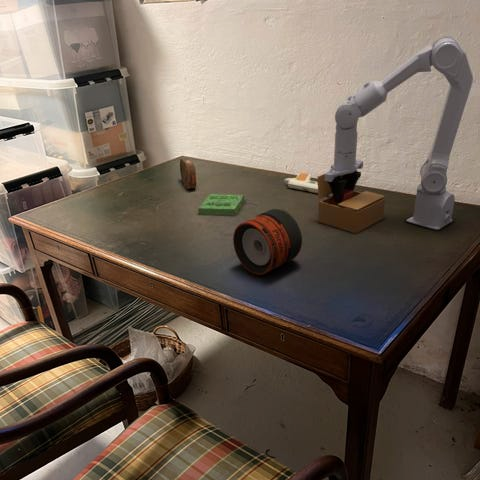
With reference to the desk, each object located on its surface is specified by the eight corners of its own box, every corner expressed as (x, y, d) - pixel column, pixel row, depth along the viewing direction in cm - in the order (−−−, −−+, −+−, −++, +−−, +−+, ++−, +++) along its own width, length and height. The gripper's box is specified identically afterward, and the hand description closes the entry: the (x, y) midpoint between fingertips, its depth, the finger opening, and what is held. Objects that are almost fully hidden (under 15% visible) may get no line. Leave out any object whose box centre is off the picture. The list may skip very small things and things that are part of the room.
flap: (319, 199, 140) (318, 199, 140) (347, 186, 147) (346, 186, 147) (318, 176, 137) (317, 176, 137) (347, 164, 144) (346, 164, 144)
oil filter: (234, 266, 124) (230, 215, 117) (268, 248, 131) (266, 200, 124) (273, 282, 116) (272, 229, 109) (307, 263, 123) (308, 212, 116)
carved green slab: (199, 214, 154) (198, 206, 153) (210, 200, 164) (209, 192, 162) (235, 215, 151) (234, 207, 150) (244, 200, 161) (243, 193, 160)
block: (352, 204, 143) (353, 190, 141) (343, 208, 141) (344, 194, 138) (341, 201, 145) (341, 187, 143) (332, 205, 143) (332, 191, 141)
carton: (318, 221, 144) (318, 199, 140) (345, 208, 151) (347, 186, 147) (355, 233, 136) (357, 209, 132) (383, 218, 143) (385, 195, 139)
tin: (180, 179, 183) (177, 155, 178) (189, 178, 183) (186, 154, 179) (189, 192, 171) (186, 167, 166) (198, 191, 171) (196, 166, 167)
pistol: (350, 187, 166) (332, 198, 158) (298, 177, 176) (279, 187, 169) (350, 180, 164) (332, 190, 157) (298, 170, 175) (279, 180, 168)
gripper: (349, 142, 141) (346, 189, 149) (316, 154, 133) (314, 204, 141) (371, 146, 137) (367, 195, 144) (337, 159, 129) (335, 210, 136)
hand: (342, 200), depth 142 cm, fingers closed on block, 4 cm apart
